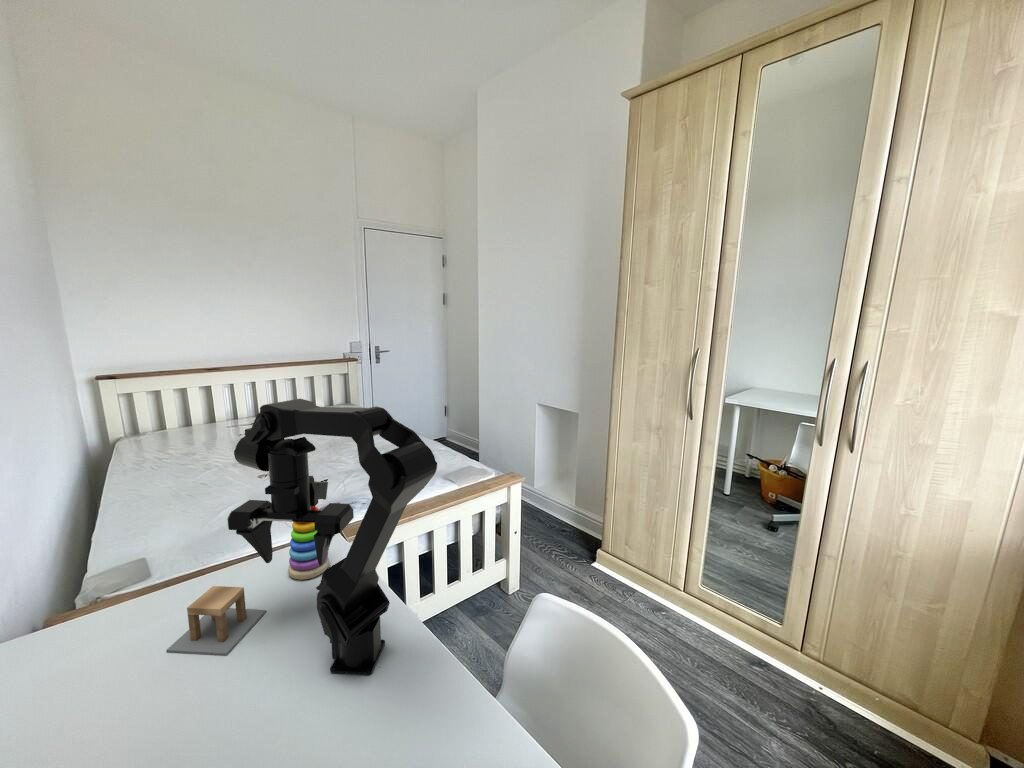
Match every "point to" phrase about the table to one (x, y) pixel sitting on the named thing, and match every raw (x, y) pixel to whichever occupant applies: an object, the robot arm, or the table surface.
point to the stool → (216, 609)
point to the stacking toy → (304, 552)
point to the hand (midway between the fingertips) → (295, 563)
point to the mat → (209, 634)
